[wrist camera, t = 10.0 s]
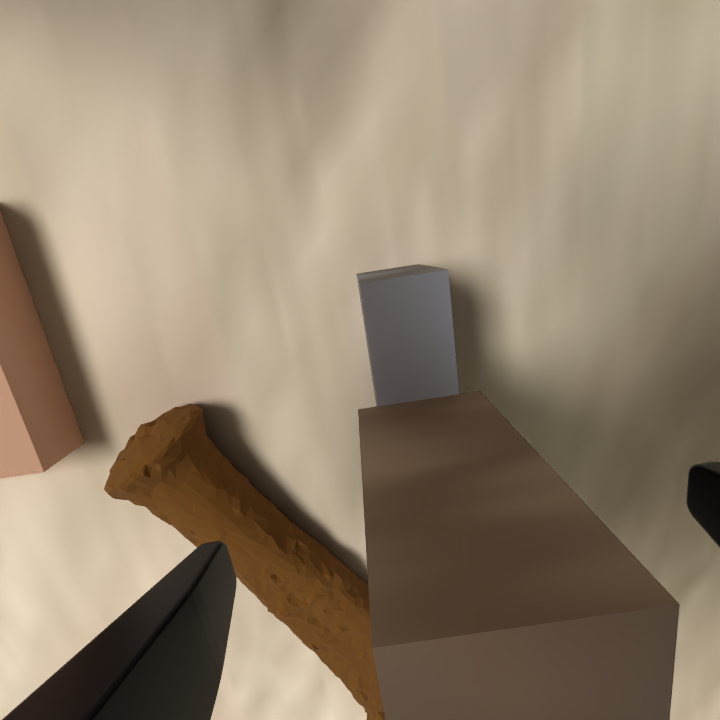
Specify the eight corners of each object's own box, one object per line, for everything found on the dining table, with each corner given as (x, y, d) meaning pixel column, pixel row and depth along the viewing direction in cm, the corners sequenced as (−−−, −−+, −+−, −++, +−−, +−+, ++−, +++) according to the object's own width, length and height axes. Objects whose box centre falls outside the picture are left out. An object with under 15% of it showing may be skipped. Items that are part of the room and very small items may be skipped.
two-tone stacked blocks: (433, 261, 13) (706, 294, 3) (456, 500, 15) (650, 946, 5) (341, 276, 13) (317, 354, 3) (379, 512, 15) (433, 974, 5)
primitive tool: (497, 682, 18) (531, 781, 15) (403, 737, 19) (415, 843, 16) (200, 377, 14) (151, 419, 10) (94, 465, 15) (18, 531, 11)
